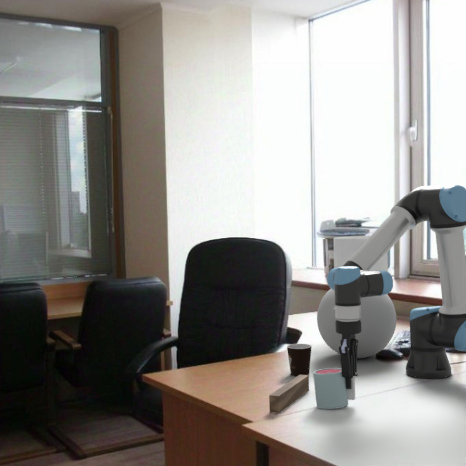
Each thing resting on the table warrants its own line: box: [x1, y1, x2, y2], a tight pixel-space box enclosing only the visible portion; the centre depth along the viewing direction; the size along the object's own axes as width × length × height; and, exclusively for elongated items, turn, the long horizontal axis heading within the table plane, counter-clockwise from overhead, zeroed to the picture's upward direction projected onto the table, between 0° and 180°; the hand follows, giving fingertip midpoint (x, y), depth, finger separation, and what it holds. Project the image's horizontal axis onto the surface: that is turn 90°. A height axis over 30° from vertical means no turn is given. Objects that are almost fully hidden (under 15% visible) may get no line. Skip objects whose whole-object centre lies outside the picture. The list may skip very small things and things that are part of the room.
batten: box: [268, 374, 310, 414], centre depth 217 cm, size 3×26×5 cm, turn 155°
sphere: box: [316, 288, 397, 359], centre depth 274 cm, size 30×30×30 cm
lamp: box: [333, 235, 389, 272], centre depth 307 cm, size 23×23×44 cm
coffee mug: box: [286, 343, 312, 377], centre depth 251 cm, size 12×9×10 cm
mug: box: [312, 367, 349, 410], centre depth 212 cm, size 14×9×10 cm
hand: (350, 399), depth 210 cm, fingers closed
